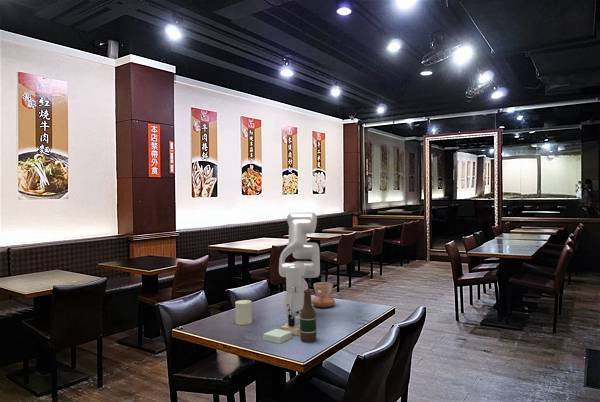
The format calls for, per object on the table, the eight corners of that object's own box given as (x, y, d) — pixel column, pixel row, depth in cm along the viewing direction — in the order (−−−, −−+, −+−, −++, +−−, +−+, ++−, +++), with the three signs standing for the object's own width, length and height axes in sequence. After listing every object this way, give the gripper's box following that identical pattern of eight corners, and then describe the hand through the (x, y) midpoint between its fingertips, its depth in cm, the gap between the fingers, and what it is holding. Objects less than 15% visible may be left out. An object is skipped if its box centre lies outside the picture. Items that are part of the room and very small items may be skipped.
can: (249, 325, 235) (248, 303, 235) (233, 324, 237) (232, 302, 237) (254, 320, 244) (253, 299, 244) (238, 320, 246) (238, 298, 246)
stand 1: (276, 334, 217) (276, 328, 217) (292, 337, 211) (292, 331, 211) (263, 340, 209) (263, 333, 209) (279, 343, 203) (279, 337, 203)
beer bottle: (299, 337, 211) (298, 288, 211) (315, 337, 212) (314, 288, 212) (301, 343, 203) (300, 292, 203) (317, 342, 204) (316, 291, 204)
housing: (291, 323, 226) (290, 311, 226) (303, 325, 221) (303, 313, 221) (285, 325, 222) (285, 314, 222) (298, 328, 217) (297, 316, 217)
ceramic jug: (330, 310, 262) (330, 287, 263) (307, 308, 268) (307, 285, 268) (338, 304, 279) (338, 282, 279) (317, 302, 285) (317, 280, 285)
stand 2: (292, 327, 229) (292, 321, 229) (308, 330, 223) (307, 324, 223) (280, 332, 220) (280, 326, 220) (296, 335, 215) (296, 329, 215)
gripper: (297, 285, 231) (298, 319, 231) (277, 291, 217) (278, 327, 217) (308, 287, 226) (309, 321, 226) (289, 293, 212) (290, 330, 212)
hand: (294, 324), depth 222 cm, fingers closed on housing, 5 cm apart
